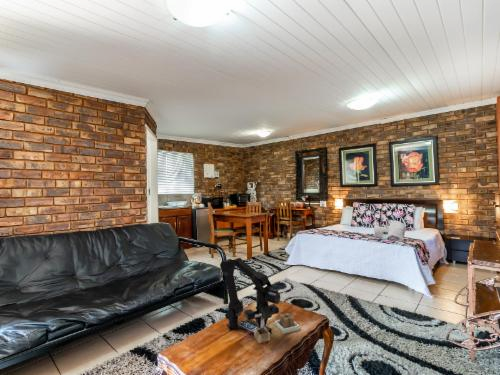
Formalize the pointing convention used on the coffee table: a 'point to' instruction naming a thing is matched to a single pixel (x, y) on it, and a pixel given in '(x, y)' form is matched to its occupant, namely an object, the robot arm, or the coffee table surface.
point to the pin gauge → (262, 324)
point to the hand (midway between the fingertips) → (261, 327)
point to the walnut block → (286, 320)
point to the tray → (286, 330)
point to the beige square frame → (262, 336)
